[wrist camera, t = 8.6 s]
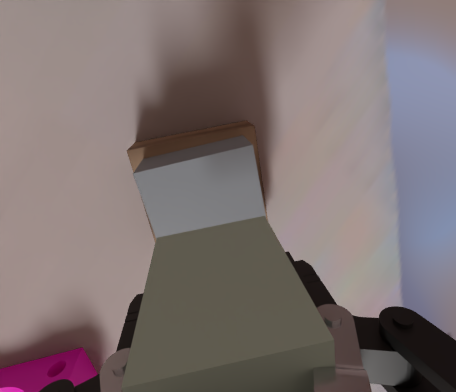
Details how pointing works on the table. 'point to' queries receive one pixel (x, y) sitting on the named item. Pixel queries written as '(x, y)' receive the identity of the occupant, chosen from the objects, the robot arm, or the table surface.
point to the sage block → (226, 316)
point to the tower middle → (200, 186)
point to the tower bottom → (191, 140)
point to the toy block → (47, 372)
